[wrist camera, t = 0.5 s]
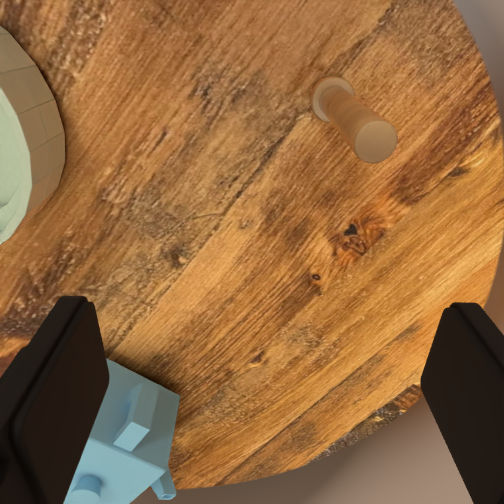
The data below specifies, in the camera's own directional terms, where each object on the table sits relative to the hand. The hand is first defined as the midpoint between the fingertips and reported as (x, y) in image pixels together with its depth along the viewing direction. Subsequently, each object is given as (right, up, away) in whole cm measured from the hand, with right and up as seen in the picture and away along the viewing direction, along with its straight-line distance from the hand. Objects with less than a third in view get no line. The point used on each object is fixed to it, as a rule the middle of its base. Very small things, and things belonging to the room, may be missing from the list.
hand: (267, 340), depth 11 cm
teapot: (-15, -13, +33) cm, 39 cm away
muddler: (+5, +13, +18) cm, 23 cm away
